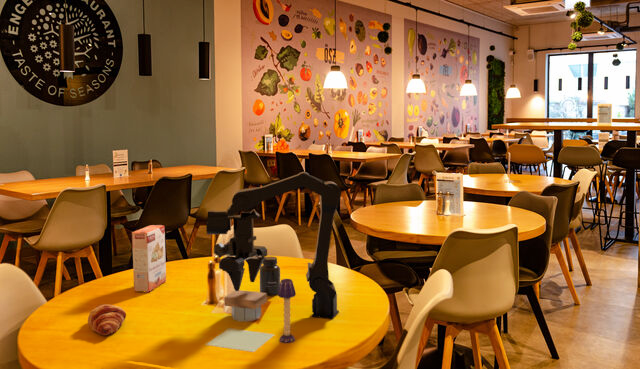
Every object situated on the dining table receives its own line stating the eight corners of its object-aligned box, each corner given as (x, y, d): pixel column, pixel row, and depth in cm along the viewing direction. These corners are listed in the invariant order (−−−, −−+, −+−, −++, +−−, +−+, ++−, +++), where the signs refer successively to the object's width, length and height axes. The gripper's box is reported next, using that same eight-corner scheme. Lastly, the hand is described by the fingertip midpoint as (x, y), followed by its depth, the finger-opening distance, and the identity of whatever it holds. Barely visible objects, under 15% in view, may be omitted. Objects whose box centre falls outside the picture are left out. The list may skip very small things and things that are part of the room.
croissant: (96, 327, 169) (82, 305, 167) (127, 307, 172) (112, 286, 170) (98, 352, 150) (81, 328, 148) (132, 329, 152) (116, 306, 150)
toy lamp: (300, 341, 147) (299, 279, 145) (287, 347, 143) (286, 283, 141) (287, 337, 150) (286, 276, 148) (274, 342, 146) (273, 280, 144)
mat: (274, 336, 151) (274, 334, 151) (253, 353, 139) (253, 351, 139) (229, 329, 156) (229, 328, 156) (205, 346, 144) (205, 344, 144)
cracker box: (150, 293, 190) (147, 232, 188) (133, 292, 191) (130, 232, 189) (167, 281, 204) (165, 224, 201) (152, 280, 205) (149, 224, 202)
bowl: (264, 315, 167) (264, 300, 167) (252, 324, 160) (251, 309, 159) (241, 312, 170) (240, 298, 170) (227, 321, 163) (227, 306, 162)
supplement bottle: (271, 297, 184) (270, 261, 182) (255, 293, 188) (254, 258, 187) (284, 292, 189) (284, 257, 188) (269, 288, 193) (268, 254, 192)
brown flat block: (267, 301, 166) (266, 293, 166) (255, 309, 159) (255, 300, 159) (237, 298, 170) (236, 290, 169) (224, 305, 163) (224, 297, 162)
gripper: (235, 226, 174) (236, 275, 175) (201, 238, 156) (203, 292, 158) (267, 228, 170) (268, 278, 171) (236, 240, 152) (238, 296, 154)
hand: (244, 286), depth 164 cm, fingers open, 9 cm apart
